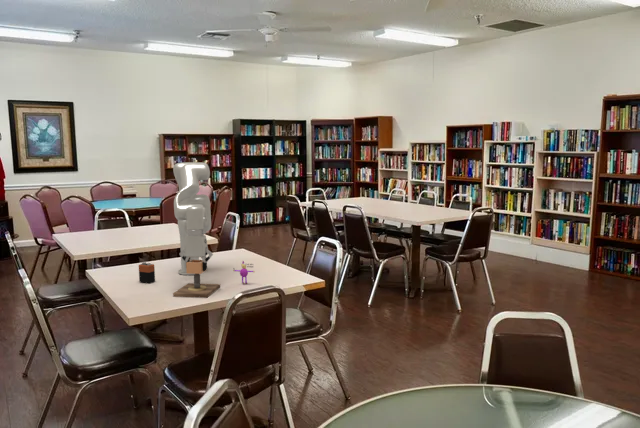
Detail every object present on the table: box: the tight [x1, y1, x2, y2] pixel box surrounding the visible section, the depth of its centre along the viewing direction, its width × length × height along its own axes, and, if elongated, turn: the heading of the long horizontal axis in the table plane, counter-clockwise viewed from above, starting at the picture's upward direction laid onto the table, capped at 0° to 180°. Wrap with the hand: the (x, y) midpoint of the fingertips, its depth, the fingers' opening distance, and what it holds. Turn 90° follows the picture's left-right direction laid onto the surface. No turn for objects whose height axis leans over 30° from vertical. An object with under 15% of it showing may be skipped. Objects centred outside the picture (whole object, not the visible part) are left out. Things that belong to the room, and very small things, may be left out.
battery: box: [138, 261, 156, 285], centre depth 253 cm, size 4×7×10 cm, turn 66°
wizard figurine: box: [232, 260, 255, 285], centre depth 248 cm, size 11×3×12 cm, turn 77°
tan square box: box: [186, 259, 208, 275], centre depth 234 cm, size 7×7×5 cm
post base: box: [172, 274, 221, 299], centre depth 235 cm, size 18×16×9 cm
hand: (196, 270), depth 234 cm, fingers closed on tan square box, 7 cm apart
